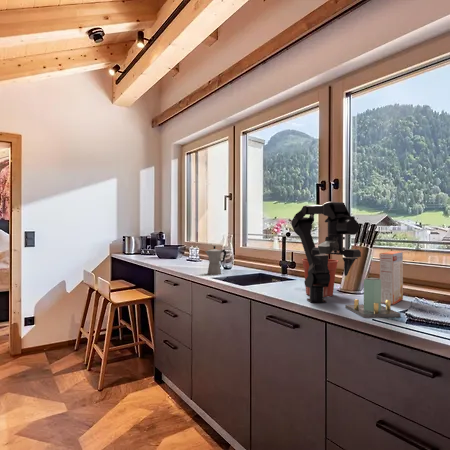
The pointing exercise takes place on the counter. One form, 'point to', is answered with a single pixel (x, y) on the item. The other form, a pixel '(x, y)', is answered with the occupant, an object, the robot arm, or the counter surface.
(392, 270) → the cracker box
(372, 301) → the block
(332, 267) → the flower pot
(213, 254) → the coffeepot
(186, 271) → the counter surface
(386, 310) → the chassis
